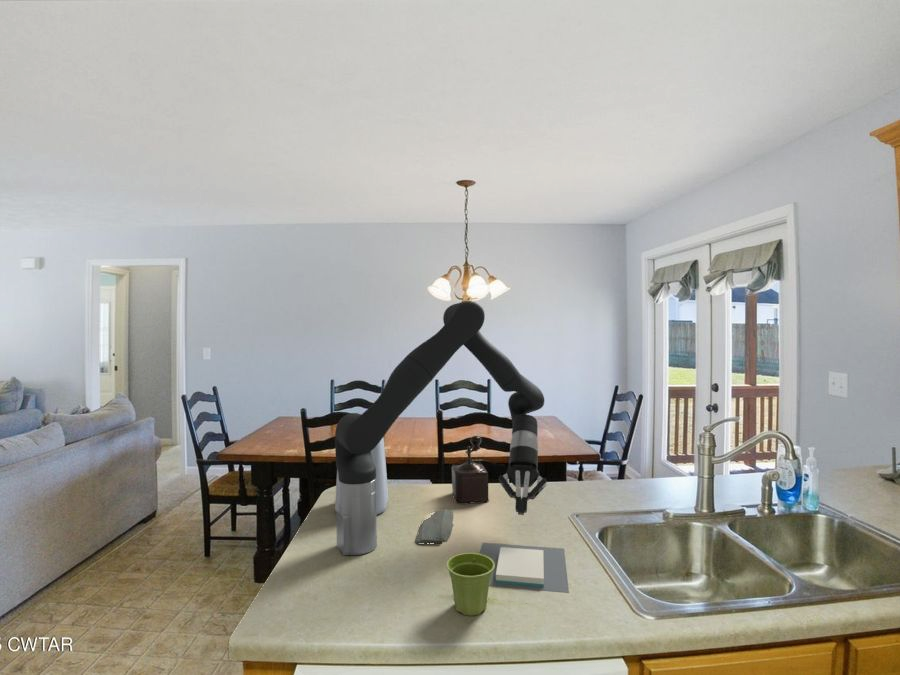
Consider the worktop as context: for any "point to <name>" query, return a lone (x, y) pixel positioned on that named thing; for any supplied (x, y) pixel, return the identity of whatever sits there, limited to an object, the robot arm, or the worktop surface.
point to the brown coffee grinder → (470, 478)
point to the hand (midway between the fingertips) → (521, 513)
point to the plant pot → (470, 581)
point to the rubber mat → (552, 567)
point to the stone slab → (436, 528)
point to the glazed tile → (520, 567)
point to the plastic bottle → (381, 479)
